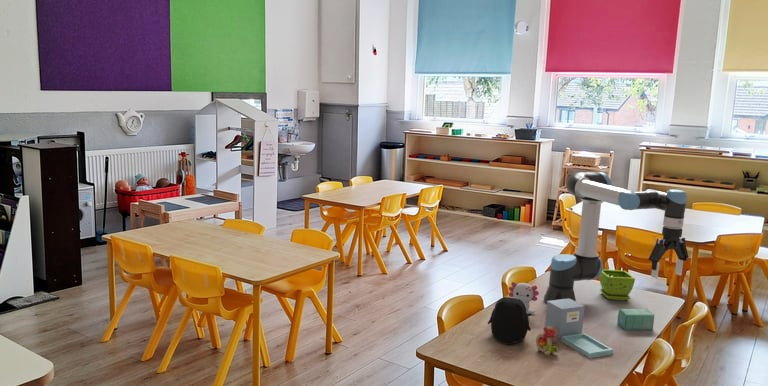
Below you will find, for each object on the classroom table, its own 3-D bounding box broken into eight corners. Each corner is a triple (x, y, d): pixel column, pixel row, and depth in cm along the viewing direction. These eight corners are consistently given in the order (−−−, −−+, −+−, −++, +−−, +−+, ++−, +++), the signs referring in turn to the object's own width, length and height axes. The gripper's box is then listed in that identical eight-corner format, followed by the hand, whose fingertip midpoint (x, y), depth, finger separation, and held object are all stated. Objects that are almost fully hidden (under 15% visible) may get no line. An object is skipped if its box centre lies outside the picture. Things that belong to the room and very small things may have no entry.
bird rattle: (534, 358, 248) (553, 356, 241) (527, 330, 249) (546, 328, 243) (543, 354, 252) (562, 352, 245) (536, 326, 253) (555, 324, 247)
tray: (561, 340, 260) (561, 336, 260) (583, 337, 265) (584, 333, 264) (589, 358, 245) (589, 353, 244) (612, 354, 250) (613, 349, 249)
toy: (505, 314, 287) (508, 283, 285) (508, 308, 295) (511, 278, 292) (535, 319, 282) (538, 288, 280) (538, 314, 290) (541, 283, 287)
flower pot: (633, 302, 311) (635, 278, 309) (605, 301, 311) (607, 277, 309) (622, 293, 325) (625, 269, 322) (596, 291, 325) (598, 268, 322)
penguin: (531, 333, 266) (535, 295, 263) (527, 350, 250) (530, 309, 247) (490, 326, 272) (493, 289, 269) (482, 342, 255) (485, 302, 252)
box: (616, 323, 282) (618, 308, 281) (644, 324, 284) (646, 308, 282) (624, 330, 275) (626, 314, 274) (653, 330, 277) (655, 314, 275)
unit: (543, 329, 272) (546, 300, 270) (565, 325, 277) (568, 298, 274) (559, 338, 262) (562, 309, 260) (582, 335, 267) (585, 306, 265)
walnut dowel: (541, 340, 260) (543, 326, 259) (551, 339, 262) (552, 325, 261) (549, 345, 255) (550, 331, 254) (559, 343, 257) (560, 330, 256)
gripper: (657, 230, 250) (651, 281, 254) (701, 227, 260) (695, 276, 264) (643, 226, 257) (637, 275, 261) (687, 223, 267) (680, 270, 271)
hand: (666, 275), depth 262 cm, fingers open, 13 cm apart
